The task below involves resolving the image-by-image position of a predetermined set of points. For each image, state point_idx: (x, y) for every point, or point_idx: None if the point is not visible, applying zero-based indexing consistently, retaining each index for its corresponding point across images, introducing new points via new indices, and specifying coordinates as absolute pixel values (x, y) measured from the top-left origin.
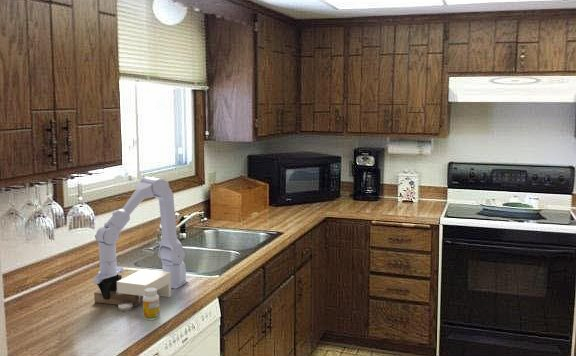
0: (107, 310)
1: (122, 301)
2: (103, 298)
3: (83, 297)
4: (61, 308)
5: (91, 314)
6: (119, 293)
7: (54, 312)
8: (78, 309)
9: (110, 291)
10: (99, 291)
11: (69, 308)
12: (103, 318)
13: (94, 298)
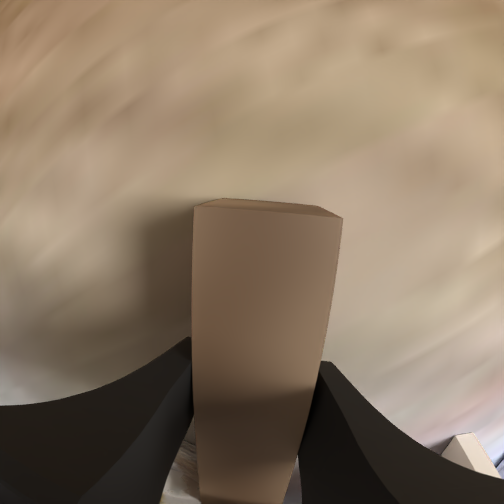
0: (102, 379)
1: (183, 476)
2: (182, 341)
3: (362, 17)
4: (78, 11)
5: (20, 298)
6: (234, 491)
7: (21, 34)
8: (60, 142)
9: (289, 414)
10: (271, 268)
11: (75, 59)
12: (19, 382)
13: (215, 200)
